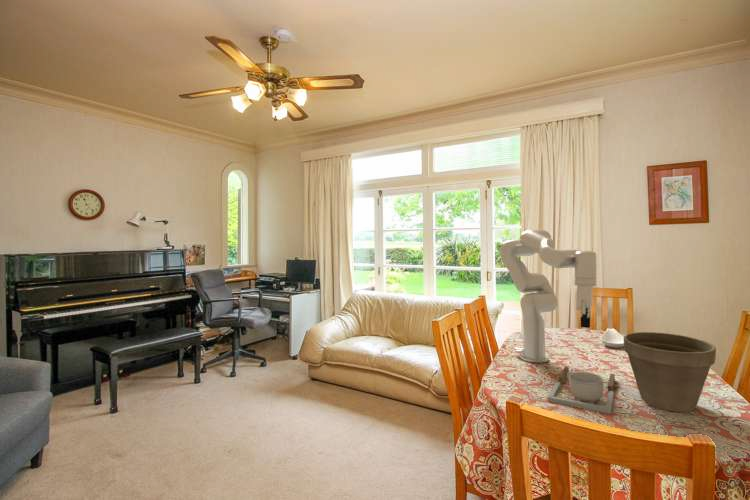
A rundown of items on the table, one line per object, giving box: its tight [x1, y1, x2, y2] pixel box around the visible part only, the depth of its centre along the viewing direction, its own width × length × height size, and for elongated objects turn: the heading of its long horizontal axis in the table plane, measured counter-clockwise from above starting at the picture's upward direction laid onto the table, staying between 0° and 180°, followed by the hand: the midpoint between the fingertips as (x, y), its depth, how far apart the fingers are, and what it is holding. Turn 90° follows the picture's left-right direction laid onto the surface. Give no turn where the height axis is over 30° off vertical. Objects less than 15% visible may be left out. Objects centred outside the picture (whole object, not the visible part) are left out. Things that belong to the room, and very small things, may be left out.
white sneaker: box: [600, 328, 624, 349], centre depth 201 cm, size 24×12×7 cm, turn 154°
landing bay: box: [547, 381, 615, 415], centre depth 133 cm, size 19×17×2 cm
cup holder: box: [558, 366, 616, 393], centre depth 148 cm, size 18×15×2 cm
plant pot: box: [623, 331, 717, 413], centre depth 127 cm, size 25×25×22 cm
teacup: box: [566, 370, 604, 403], centre depth 134 cm, size 14×11×8 cm
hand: (585, 326), depth 150 cm, fingers closed
